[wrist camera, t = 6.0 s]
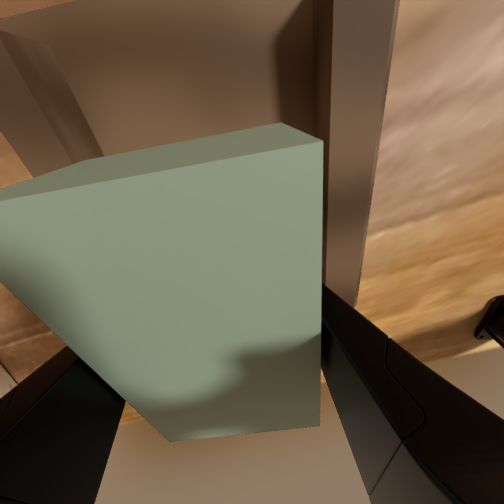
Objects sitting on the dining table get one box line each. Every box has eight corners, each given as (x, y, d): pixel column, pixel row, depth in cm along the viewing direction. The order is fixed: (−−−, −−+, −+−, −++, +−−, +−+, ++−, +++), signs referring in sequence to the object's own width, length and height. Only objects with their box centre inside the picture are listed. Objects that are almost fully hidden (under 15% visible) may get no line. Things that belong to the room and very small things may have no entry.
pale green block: (298, 335, 12) (320, 426, 8) (189, 350, 12) (169, 441, 9) (281, 122, 6) (323, 140, 3) (84, 160, 7) (-72, 214, 3)
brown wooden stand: (346, 289, 21) (370, 331, 17) (160, 316, 22) (143, 361, 18) (381, -47, 10) (472, -146, 6) (-3, 42, 11) (-138, 7, 7)
